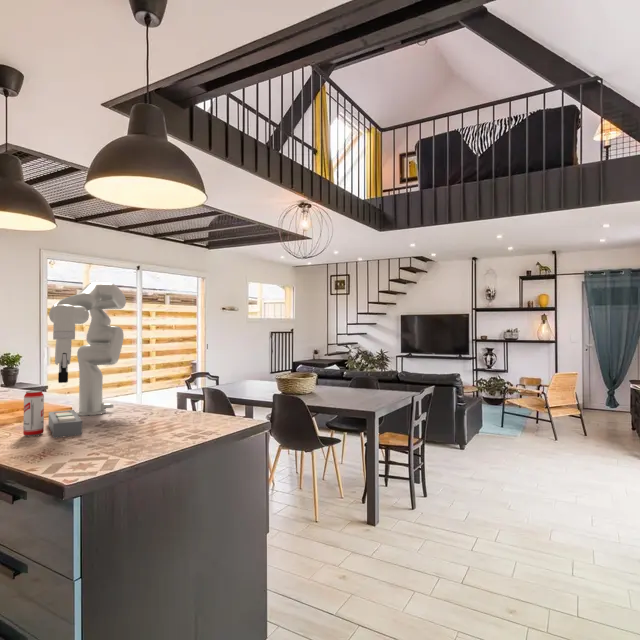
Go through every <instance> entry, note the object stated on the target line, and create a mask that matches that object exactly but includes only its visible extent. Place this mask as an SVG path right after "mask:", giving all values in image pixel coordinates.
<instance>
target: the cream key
mask: <svg viewBox="0 0 640 640" xmlns="http://www.w3.org/2000/svg"><path fill="white" fill-rule="evenodd" d="M73 420H75V417H74V416H67V417H58V422H64V421H73Z"/></svg>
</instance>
